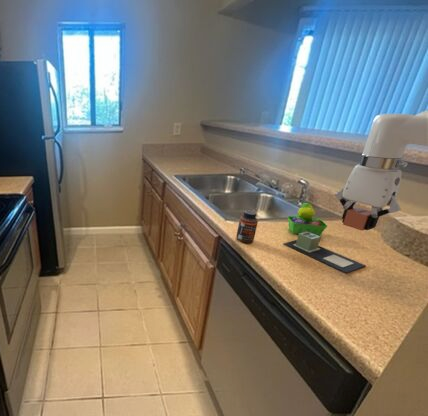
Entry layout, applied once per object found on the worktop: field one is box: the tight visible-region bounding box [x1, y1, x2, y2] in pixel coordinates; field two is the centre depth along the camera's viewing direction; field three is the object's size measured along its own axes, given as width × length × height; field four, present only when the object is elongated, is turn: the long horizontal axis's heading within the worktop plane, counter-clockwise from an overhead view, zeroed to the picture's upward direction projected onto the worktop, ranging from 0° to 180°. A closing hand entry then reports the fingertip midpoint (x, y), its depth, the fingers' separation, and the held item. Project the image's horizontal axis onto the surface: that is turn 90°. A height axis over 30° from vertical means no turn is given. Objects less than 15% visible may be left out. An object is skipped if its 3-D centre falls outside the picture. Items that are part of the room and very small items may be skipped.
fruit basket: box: [287, 202, 328, 237], centre depth 107 cm, size 11×9×11 cm
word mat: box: [282, 239, 366, 274], centre depth 93 cm, size 20×10×1 cm, turn 22°
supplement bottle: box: [235, 209, 259, 244], centre depth 101 cm, size 6×6×11 cm
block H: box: [296, 232, 322, 251], centre depth 96 cm, size 5×5×5 cm
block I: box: [342, 207, 372, 232], centre depth 78 cm, size 5×5×5 cm
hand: (357, 224), depth 79 cm, fingers closed on block I, 4 cm apart
